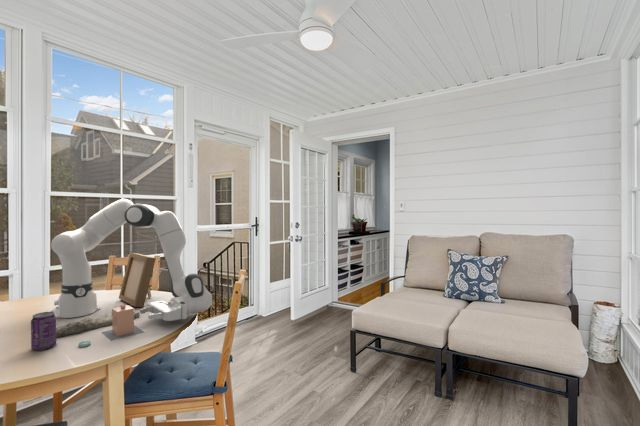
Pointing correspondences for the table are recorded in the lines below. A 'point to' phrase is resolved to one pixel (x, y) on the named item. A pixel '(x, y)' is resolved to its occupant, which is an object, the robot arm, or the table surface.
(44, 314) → the beverage can
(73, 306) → the robot arm
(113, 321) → the peach block with knob
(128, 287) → the photo frame
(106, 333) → the mat
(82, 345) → the teal flattened ovoid
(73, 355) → the table surface
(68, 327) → the long grey stone
